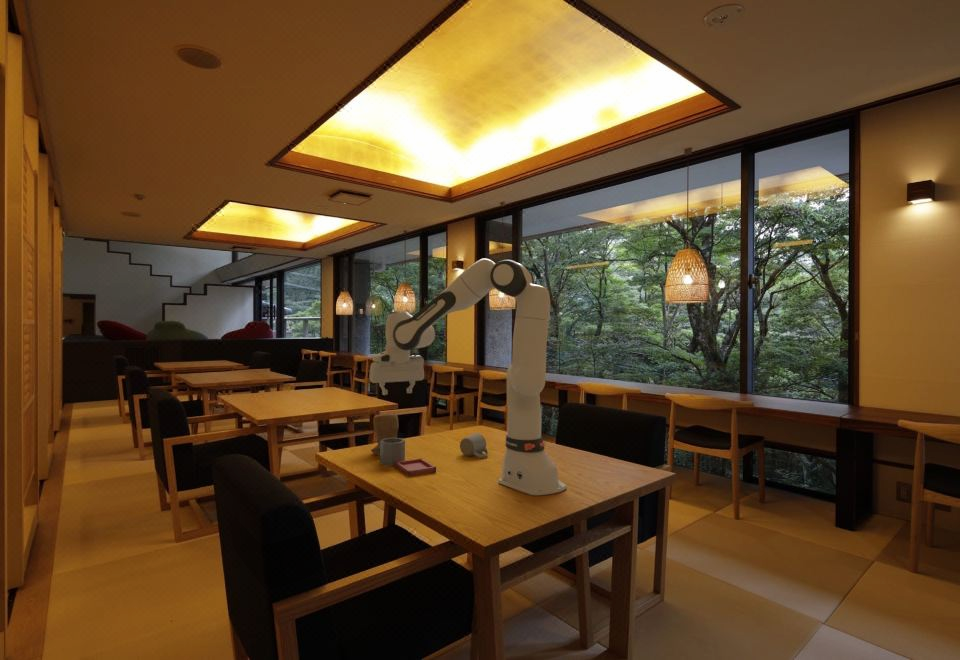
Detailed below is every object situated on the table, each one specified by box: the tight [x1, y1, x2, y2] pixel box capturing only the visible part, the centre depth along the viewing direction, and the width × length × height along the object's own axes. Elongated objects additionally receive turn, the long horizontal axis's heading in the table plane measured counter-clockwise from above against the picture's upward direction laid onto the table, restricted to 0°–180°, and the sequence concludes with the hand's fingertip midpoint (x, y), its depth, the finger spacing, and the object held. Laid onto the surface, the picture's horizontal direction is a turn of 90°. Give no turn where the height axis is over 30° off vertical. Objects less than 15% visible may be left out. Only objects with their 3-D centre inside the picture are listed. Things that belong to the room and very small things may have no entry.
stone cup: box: [370, 412, 400, 457], centre depth 189 cm, size 15×12×15 cm
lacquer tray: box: [394, 457, 437, 478], centre depth 167 cm, size 12×10×2 cm
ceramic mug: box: [459, 432, 489, 459], centre depth 187 cm, size 11×8×8 cm
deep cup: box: [379, 437, 406, 467], centre depth 175 cm, size 8×8×8 cm
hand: (397, 393), depth 177 cm, fingers open, 8 cm apart
